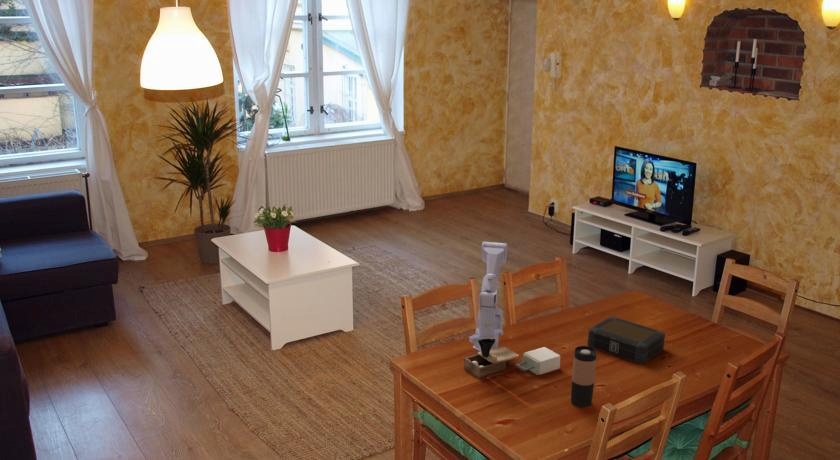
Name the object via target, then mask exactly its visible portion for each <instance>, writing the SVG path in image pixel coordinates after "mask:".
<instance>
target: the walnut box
mask: <svg viewBox="0 0 840 460" xmlns="http://www.w3.org/2000/svg"><path fill="white" fill-rule="evenodd" d="M472 361H477V362H478V364H479V363H484V362H486V361H488V360H486V359H485V358H483V357H481V356H480V355H478V353H477V354H474V355H471V356H470V355H469V356H466V357H464V358H463V368H464V369H465V370H466V371H468V372H470V373H471V374H472V375H474V376H475V377H477V378H478V379H483V378H487V377H488V375H490V374H493V373H497V372H500V371H504V370H506V369H507V366H506V365H507V361H503V362H500V363H496V364H493V363H491V364H488V365H485V366H484V365H483V366H484V367H480V366H481V365H479V366H478V365H476V364H475V363H473V362H472Z"/></svg>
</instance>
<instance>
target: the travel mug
mask: <svg viewBox="0 0 840 460" xmlns="http://www.w3.org/2000/svg"><path fill="white" fill-rule="evenodd" d="M597 354H598V352H597V349H595V348H592V347H589V346H588V345H580V346H579V345H578V346H576V347H575V349H574V354H573V365H572V376H571V390H570V391H571V393H570V403H571V404H572V405H573V406H575V407H577V408H581V409H583V408H589V407H591V405H592V403H593V396H594V395H593V394H594V388H595V380H596V379H595V377H596V368H597V367H596V366H597Z"/></svg>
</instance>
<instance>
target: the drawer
mask: <svg viewBox="0 0 840 460" xmlns="http://www.w3.org/2000/svg"><path fill="white" fill-rule="evenodd" d="M539 366H540V362H538V361H537V360H535V359H533V358H531V357H530V356H528V355H526V354H524V353H523V354H522V360H521V362H519V363H515V367H516V368H518V369H520V370H521V371H523V372H527V371H529V372H531V373H533V374H535V375H537V376H538V375H539Z"/></svg>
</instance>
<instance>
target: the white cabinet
mask: <svg viewBox="0 0 840 460" xmlns="http://www.w3.org/2000/svg"><path fill="white" fill-rule="evenodd" d="M523 354H526V355H528V356H530V357H531V358H533V359H535V360H537V361H538V362H540V366H539V375H543V374H547V373H550V372H553V371H556V370H560V369H561V367H560V366H561V365H560V364H561V355H560V354H558V353H556V352H554V351H553V350H551V349H549V348H548V347H546V346H543V347H539V348H536V349H533V350H529V351H525V352H523Z"/></svg>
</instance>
